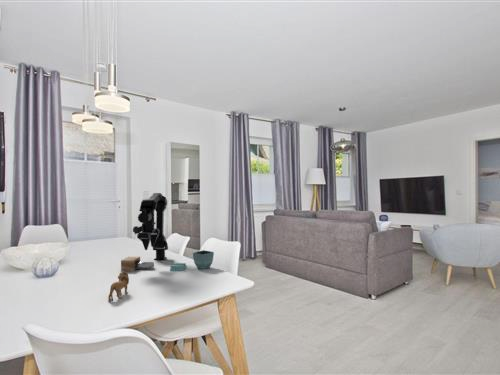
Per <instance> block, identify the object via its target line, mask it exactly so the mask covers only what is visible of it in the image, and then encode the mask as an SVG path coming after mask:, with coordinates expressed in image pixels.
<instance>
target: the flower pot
mask: <svg viewBox="0 0 500 375" xmlns="http://www.w3.org/2000/svg"><path fill="white" fill-rule="evenodd" d="M214 254H215V253H214V251H210V250H205V249H204V250H198V251H195V252H193V253H192V257H193V261H194V262H193V263H194V264H195V267H196V268H197V269H200V270H205V269H208V268H210V267H211V266H212V264H213V261H214Z"/></svg>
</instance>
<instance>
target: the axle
mask: <svg viewBox="0 0 500 375" xmlns="http://www.w3.org/2000/svg"><path fill="white" fill-rule="evenodd" d="M154 267H155V263H154V261H140V262H135V270H153V269H155V268H154Z"/></svg>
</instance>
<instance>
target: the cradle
mask: <svg viewBox="0 0 500 375" xmlns="http://www.w3.org/2000/svg"><path fill="white" fill-rule="evenodd" d="M186 268H187V264H186V262H184V263H183V262H180V263H179V262H173V263H172V264H171V265H170V268H169V271H170V272H182V271H184V270H185V269H186Z"/></svg>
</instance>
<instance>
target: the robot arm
mask: <svg viewBox="0 0 500 375" xmlns="http://www.w3.org/2000/svg"><path fill="white" fill-rule="evenodd" d="M167 206H168V200H167V198H166V196H164V195H163V194H162V193H160V192H153V193H152V195H151V196H150V197H148V198H144V199H142V200H141V202H140V206H139V212H140V213H139V214H138V216H137V220H138V222H139V223H141V226H138V225H137V226H133V228H132V233H134V235H137V236H136V238H137V239H138V240H139V241H141V242H142V245H143V248H144V250H145V251H147V250H148V248H149V245H150V247H152V251H155V258H153V260H154V261H164V260H165V259H167V256H166V251H167V250H169V245H168V242H167V237H166V235H164V216H165V211H166V209H167ZM155 212H156V213H155ZM155 214H156V218H155ZM155 219H156V220H155ZM155 227H156V228H155Z"/></svg>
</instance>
